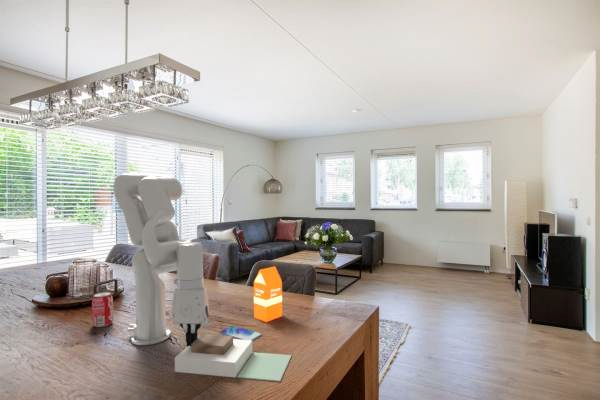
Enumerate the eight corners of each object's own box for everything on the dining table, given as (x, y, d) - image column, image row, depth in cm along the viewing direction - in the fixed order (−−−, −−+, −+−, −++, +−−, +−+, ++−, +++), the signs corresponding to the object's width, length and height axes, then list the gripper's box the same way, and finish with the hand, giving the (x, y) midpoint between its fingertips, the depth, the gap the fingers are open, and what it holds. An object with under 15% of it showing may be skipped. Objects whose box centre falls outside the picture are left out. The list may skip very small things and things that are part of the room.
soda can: (110, 319, 131) (110, 290, 131) (115, 324, 126) (115, 293, 126) (90, 324, 126) (89, 294, 126) (94, 329, 121) (94, 298, 121)
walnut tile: (191, 352, 94) (191, 343, 94) (202, 341, 101) (202, 333, 101) (223, 355, 92) (223, 346, 92) (233, 344, 99) (233, 336, 99)
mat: (237, 377, 87) (237, 376, 87) (254, 353, 101) (254, 352, 101) (280, 381, 85) (280, 380, 85) (291, 356, 99) (291, 355, 99)
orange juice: (253, 317, 132) (253, 268, 132) (270, 311, 138) (269, 265, 138) (266, 322, 127) (265, 271, 126) (282, 316, 133) (282, 267, 133)
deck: (175, 371, 91) (174, 357, 91) (199, 348, 105) (199, 336, 105) (235, 377, 87) (235, 362, 87) (252, 353, 101) (252, 340, 101)
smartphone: (249, 341, 109) (218, 332, 117) (249, 344, 109) (218, 334, 117) (263, 333, 115) (232, 325, 123) (263, 335, 115) (232, 327, 123)
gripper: (160, 286, 95) (161, 348, 95) (207, 287, 92) (208, 352, 92) (175, 279, 102) (176, 337, 102) (219, 281, 100) (220, 340, 100)
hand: (191, 344), depth 97 cm, fingers closed
